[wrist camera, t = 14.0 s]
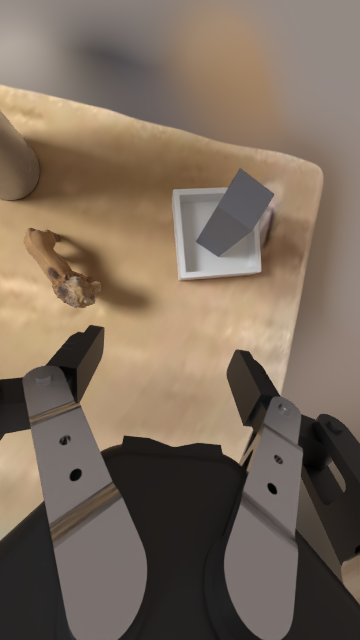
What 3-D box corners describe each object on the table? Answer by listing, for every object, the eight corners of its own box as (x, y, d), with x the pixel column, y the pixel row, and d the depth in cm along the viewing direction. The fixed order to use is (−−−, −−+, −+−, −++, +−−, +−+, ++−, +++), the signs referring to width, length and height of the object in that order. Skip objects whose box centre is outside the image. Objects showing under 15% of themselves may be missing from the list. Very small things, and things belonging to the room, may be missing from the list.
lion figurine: (117, 292, 33) (101, 288, 24) (93, 315, 32) (69, 320, 24) (46, 222, 31) (-1, 189, 22) (21, 246, 30) (-36, 223, 22)
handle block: (195, 241, 32) (217, 206, 20) (209, 218, 32) (240, 168, 20) (218, 257, 33) (252, 231, 21) (232, 233, 33) (274, 194, 21)
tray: (178, 280, 33) (181, 278, 30) (171, 201, 32) (173, 189, 29) (251, 274, 35) (261, 271, 31) (246, 198, 33) (257, 186, 30)
